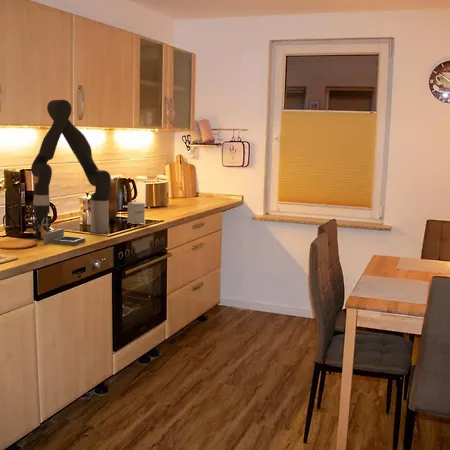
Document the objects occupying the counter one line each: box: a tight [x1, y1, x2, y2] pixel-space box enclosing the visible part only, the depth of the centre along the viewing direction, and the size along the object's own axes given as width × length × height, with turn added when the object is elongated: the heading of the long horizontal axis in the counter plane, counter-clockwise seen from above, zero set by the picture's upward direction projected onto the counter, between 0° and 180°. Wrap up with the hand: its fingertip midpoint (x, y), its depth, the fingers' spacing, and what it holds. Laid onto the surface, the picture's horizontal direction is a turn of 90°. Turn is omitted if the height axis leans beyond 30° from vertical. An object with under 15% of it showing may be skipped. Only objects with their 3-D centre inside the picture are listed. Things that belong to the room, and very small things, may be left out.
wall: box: [42, 228, 65, 245], centre depth 292 cm, size 16×1×5 cm, turn 164°
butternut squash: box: [108, 178, 119, 221], centre depth 357 cm, size 14×13×25 cm
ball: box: [40, 228, 48, 240], centre depth 296 cm, size 5×5×5 cm
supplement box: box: [127, 201, 146, 225], centre depth 350 cm, size 7×7×13 cm
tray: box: [52, 235, 86, 247], centre depth 290 cm, size 11×11×2 cm
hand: (41, 237), depth 296 cm, fingers closed on ball, 5 cm apart
